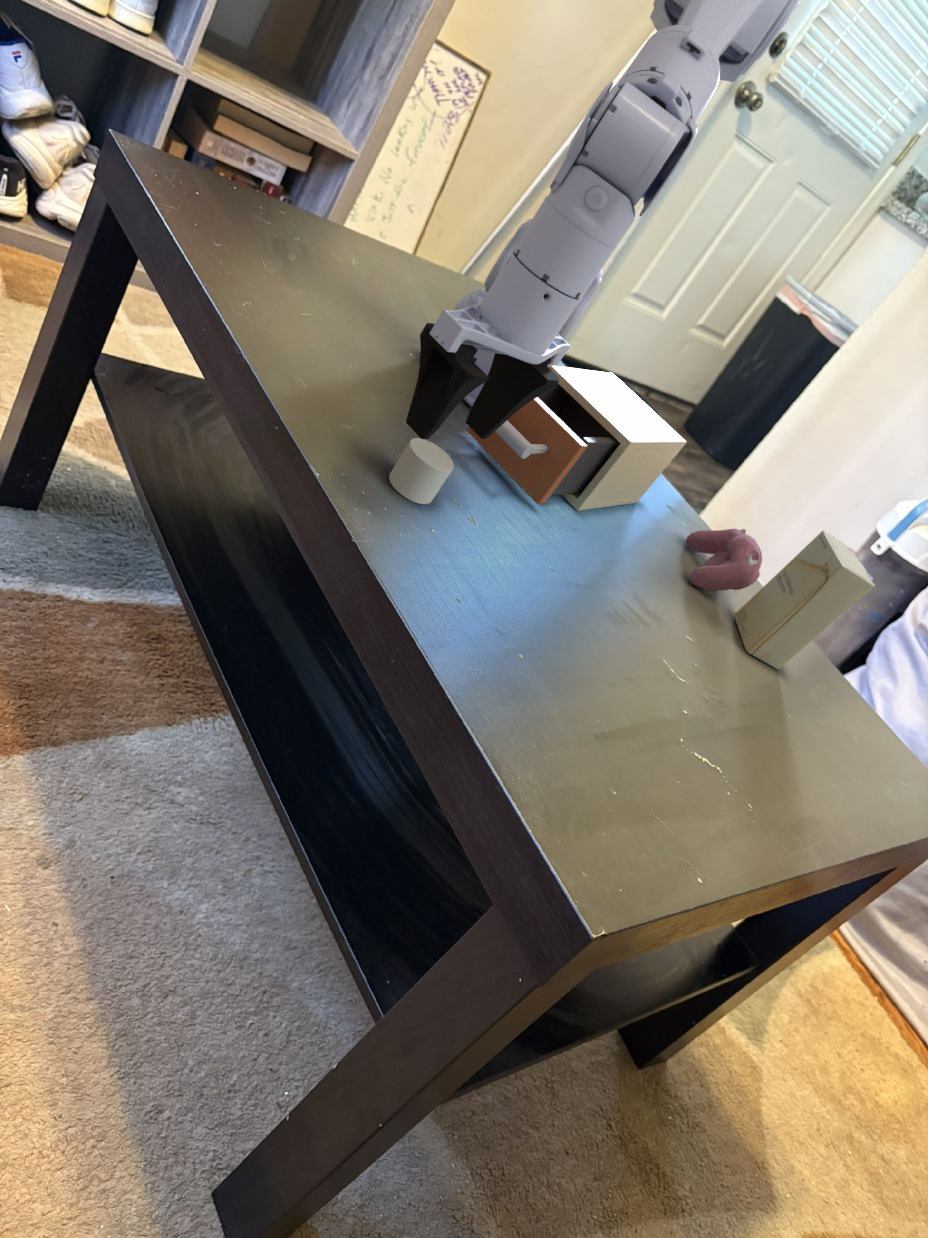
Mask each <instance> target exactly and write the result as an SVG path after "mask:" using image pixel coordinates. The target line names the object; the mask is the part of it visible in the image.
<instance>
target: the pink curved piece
mask: <svg viewBox="0 0 928 1238" xmlns="http://www.w3.org/2000/svg"><path fill="white" fill-rule="evenodd" d="M685 544H686V546H687V548H689V549H690V550H692V551H695V552H698V553H702V554H708V555H711V556H710V557H709V558H707V560H706V561H705V564H706V565H702V566H701V567H697V568H695V569H694V570H693V571H691V573H690V575H689V581H690V583H691V584H692V585H694V586H695V587H698V588H699V589H703V590H706V591H714V592H715V591H728V590H732V591H739V590H743V589H747V588H749V587H750V586H751V585H753V584H754V583H755V582H757V580H758V579H759V578H760V576H761V573H760V570H761V566H762V563H763V553H762V550H761V548H760V546H759V544H758V543H757V540H756V539H755V538H754V537H752V536H751V535H749V533H747V530H746V529H745V528H742V529H738V528H728V529H720V530H719V529H718V530H716V529H713V530H711V529H707V530H706V529H705V530H704V529H703V530H696V531H693V532H691V533H689V534H688V536H687V537H686V539H685Z"/></svg>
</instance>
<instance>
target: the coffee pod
mask: <svg viewBox="0 0 928 1238" xmlns="http://www.w3.org/2000/svg"><path fill="white" fill-rule="evenodd" d="M454 467H455V464H454V461H453V459H452V458H451V456H450V455H449V454H448V453H447V451H445V450H444V449H443V448H441V447H440V446H438V445H437V444H435V443H433V442H432V441H430V440H428V439H421V438H420V437H413V438H411V439H410V440H409V442H408V444H407V445H406V447H405V448H404V450H403V452H402V454H401V455H400V457H399V458H398V460H397V462H396V463H395V464H394V466H393V468H392V470H391V471H390V473H389V475H388V479H389V483H390V484H391V486H392V487H393V489H394V490H395V491H396V492H397V493H398V494H400V495H401V496H402V497H403V498H405V499H407V500H409V501H411V502H413V503H416V504H419V505H430V504H431V503H432V501H433V500H434V499H435V497H436V496H437V494H438V492H440V490H441V488H442V487H443V485H444V484H445V482H446V481H447V479H448V478H449V476H450V475H451V474H452V472H453V470H454Z"/></svg>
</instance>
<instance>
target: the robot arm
mask: <svg viewBox="0 0 928 1238" xmlns="http://www.w3.org/2000/svg"><path fill="white" fill-rule="evenodd" d="M801 1H802V0H653V4H652V5H653V9H652V11H651V13H650V16H649V18H650V20H651V22H652V24H653V26H654V28H655V30H656V32H654V33H653V34H652V35H651V36H650V37H649V38H648V39H647V41H646V42H645V44H644V45H643V47H642V48H641V49H640V51H639V52H638V53H637V55H636V57H635V58H634V59H633V61H632V62H631V63H630V65H629V67H628V68H627V69H626V71H625V72H624V74H623V75H622V77H621V79H620V80H619V81H618V82H617V84H616V85H614V86H613V84H614V81H613V80H611V81H610V82H609V83H607V85H606V86H604V87H603V89H602V90H601V92H600V93H599V95H598V96H597V98H596V99H595V100H594V102H593V104H592V105H591V107H590V109H589V110H588V112H587V114H586V116H584V119H583V120H582V122H581V124H580V125H579V126H578V129H577V131H576V132H575V134H574V136H573V138H572V139H571V142H570V143H569V146H568V149H567V152H566V154H565V157H564V159H563V162H562V164H561V165H560V167H559V169H558V171H557V173H556V174H555V176H554V178H553V179H552V181H551V183H550V185H549V188H550V192H549V193H548V195H546V196H545V197H544V199H543V201H542V203H541V204H540V206H539V207H538V209H537V211H536V212H535V214H534V216H533V217H532V218H529V219H528V220H527V221H525V222H522V223H521V224H520V226H519V227H518V228H517V230H516V231H515V233H514V235H513V236H512V237H511V238H510V240H509V241H508V242H507V244H506V245H505V247H504V248H503V250H502V251H501V253H500V254H499V256H498V258H497V260H496V261H495V263H494V264H493V266H492V268H491V269H490V271H489V273H488V275H487V277H486V278H485V280H484V283H483V284H484V288H479V289H474V290H472V291H470V292H469V293H467V294H466V295H465V296H463V298H462V299H460V301H458V302H457V304H455V306H454V308H453V309H443V310H442V311H441V313H440V314H439V316H438V317H437V320H436V322H435V323H434V322H433V323H432V322H427V323H426V324H425V325H424V326H423V329H422V330H421V331H420V334H419V342H420V343H419V344H420V347H419V348H420V351H419V359H420V360H419V368H418V375H417V380H416V384H415V388H414V392H413V395H412V399H411V402H410V406H409V408H408V412H407V415H406V416H407V417H406V420H405V424H407V426H408V427H409V428H411V430H412V431H413V432H414V433H415V434H416V435H417V436H418V438H421V439H425V440H428V439H430V438H431V437H432V436H433V435H434V434H435V433H436V432H437V431H438V430H439V429H440V427H441V426H442V425H443V424H444V423H445V421H446V420H447V419H448V418H449V416H450V415H451V413H452V412H453V411H454V410H455V409H456V408H457V406H459V404H460V403H461V402H462V401H465V402H466V403H467V404H468V405H469V407H471V408H470V410H469V413H468V415H467V417H466V421H465V424H466V425H467V426H468V427H470V428H471V429H472V430H473V431H474V432H475V433H476V434H477V435H478V436H479V437H480V438H481V439H486V438H488V437H489V436H490V435H491V434H492V433H494V432H495V431H496V430H497V429H498V428H499V427H500V426H501V425H502V424H503V423H505V422H506V421H507V420H508V419H509V418H510V417H511V416H512V415H513V414H515V413H516V412H517V411H518V410H519V409H521V408H522V407H523V406H524V405H526V404H527V403H529V402H530V401H532V400H533V399H535V398H536V397H538V396H540V395H542V394H544V393H546V392H548V391H550V390H552V389H554V388H555V387H556V385H557V384H558V382H559V378H558V376H557V375H556V374H555V373H554V372H553V371H552V370H551V369H550V368H549V365H553V366H559V363H560V362H561V361H562V359H563V358H564V357H565V355H566V354H567V353H568V350H569V349H570V348H571V344H569V342H567V341H566V340H565V339H566V338H567V337H568V335H569V334H570V333H571V331H572V330H573V329H574V327H575V325H576V324H577V323H578V321H579V320H580V319H581V317H582V315H583V314H584V312H585V311H586V309H587V307H588V306H589V305H590V303H591V301H592V299H593V297H594V294H595V293H596V292H597V290H598V289H599V287H600V285H601V284H602V281H603V280H602V277H603V275H604V272H603V268H604V267H605V265H606V263H607V262H608V260H609V259H610V258H611V256H612V255H613V253H614V251H616V248H618V245H620V243H621V242H622V240H623V238H624V237H625V235H626V233H627V232H628V231H629V229H630V228H631V226H632V224H633V223H634V222H635V220H636V206H637V205H638V203H639V202H640V200H641V199H643V200H642V201H643V202H642V203H643V207H642V208H641V211H640V213H639V217H642V216H643V215H644V214H645V213H647V211H649V210H650V209H651V208H652V207H653V206H654V204H655V203H656V202H657V201H658V199H660V197H661V195H662V194H663V193H664V191H665V190H666V188H667V187H668V186H669V184H670V183H671V181H672V180H673V178H674V176H675V175H676V173H678V171H679V169H680V167H682V165H683V163H684V161H685V160H686V158H687V157H688V154H689V153H690V151H691V147H692V146H693V143H694V140H695V138H696V136H697V134H698V129H699V124H697V123H698V122H699V120H700V118H701V116H702V115H703V114H704V111H705V109H706V108H707V106H708V105H709V103H710V101H711V99H712V97H713V96H714V95H715V92H716V90H717V88H718V86H719V82H720V81H724V82H730V83H736V81H737V80H738V79H739V78H740V77H741V76H744V75H746V73H747V72H748V71H749V70H750V69H751V67H753V66H754V64H755V63H756V62H757V61H758V60H760V59H761V58H762V57H763V56H764V55H765V53H766V52H767V50H768V49H769V48H770V47H771V45H772V44H773V43H774V41H775V40H776V38H777V37H778V35H779V34H780V32H781V31H782V30H783V29H784V27H785V26H786V24H787V22H788V21H789V19H790V18H791V16H792V15H793V13H794V12H795V11H796V9H797V8H798V6H799V4H800V3H801Z"/></svg>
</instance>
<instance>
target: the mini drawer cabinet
mask: <svg viewBox="0 0 928 1238" xmlns="http://www.w3.org/2000/svg"><path fill="white" fill-rule="evenodd" d="M548 367H549V368H550V369H551V370H552V371H553V372H554V373H555V374H556V375H557V376H558V378H559V382H558V384H559V385H560V386H561V387H562V388H563V389H564V390H565V391H566V392H568V393H569V394H570V395H571V396H572V397H573V398H574V399H575V400H576V401H577V402H578V403H579V404H580V405H581V406H582V407H583V408H584V409H585V410H586V411H587V412H588V413H589V414H590V415H591V416H593V417H594V418H595V419H596V420H597V421H598V422H599V423H600V424H601V425H602V426H603V427H604V428H605V429H606V430H607V431H608V432H609V433H610V434H611V435H612V436H613V437H614V438H615V439H616V440H618V441H619V442H620V443H621V444H620V445H619V446H618V448H617V449H616V450H615V451H614V453H613V454H612V455H611V456H610V458H609V459H608V460H607V462H606V463H605V464H604V465H603V467H602V468H601V469H600V471H599V472H598V473H597V474H596V476H595V477H594V478H593V480H592V481H591V482H590V483H589V485H588V486H587V487H586V489H585V490H584V491H583V492H579V493H569V494H560V496H562V497H563V498H564V499H565V500H566V501H567V502H568V504H570V505H571V506H572V507H573V508H574V509H575V510H576V511H578V512H579V511H586V510H594V509H601V508H609V507H617V506H622V505H623V506H624V505H631V504H637V503H638V502H639V501H640V500H641V498H643V496H644V495H645V494H646V492H648V491H649V489H650V488H651V487H652V485H653V484H654V483H655V481H657V479H658V478H659V477H660V475H661V474H662V473H663V472H664V471H665V469H666V468H667V467H668V466H669V465H670V464H671V462H672V461H673V460H674V459H675V457H676V456H677V455H678V454H679V453H680V452H681V450H682V449H683V448H684V447H685V446H686V445H687V443H688V442H687V440H686V439H685V438H684V437H683V436H681V435H680V434H679V433H678V432H677V431H676V430H675V429H674V428H673V427H672V426H670V425H669V424H668V423H667V422H666V421H665V420H664V419H663V418H662V417H661V416H660V415H659V414H658V413H656V411H654V410H653V408H651V407H650V406H649V404H647V403H646V402H645V401H644V400H642V398H641V397H639V396H638V395H637V394H636V392H634V390H632V389H631V388H630V387H628V386H627V385H626V384H625V382H624V381H622V380H621V379H620V378H619V377H618V376H617V375H615V374H614V373H613V372H608V371H599V370H593V369H592V370H591V369H584V368H577V367H570V366H563V365H557V366H553V365H550V364H549V365H548Z"/></svg>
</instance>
